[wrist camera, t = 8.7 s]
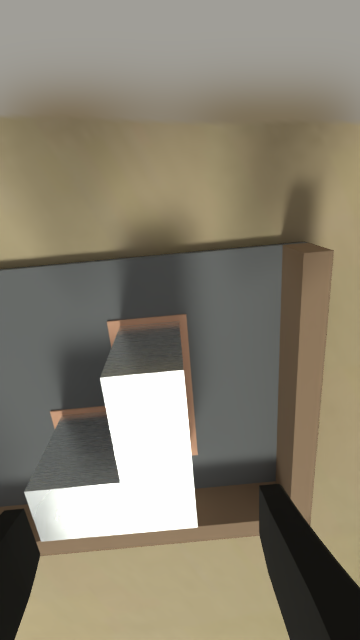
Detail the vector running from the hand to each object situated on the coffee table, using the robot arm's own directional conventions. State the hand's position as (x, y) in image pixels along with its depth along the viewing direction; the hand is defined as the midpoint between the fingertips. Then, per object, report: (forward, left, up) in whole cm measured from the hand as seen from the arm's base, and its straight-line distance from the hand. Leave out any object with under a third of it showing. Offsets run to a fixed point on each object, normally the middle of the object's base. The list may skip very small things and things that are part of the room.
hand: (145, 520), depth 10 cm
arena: (-2, -1, -8) cm, 9 cm away
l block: (-2, -1, -8) cm, 8 cm away
